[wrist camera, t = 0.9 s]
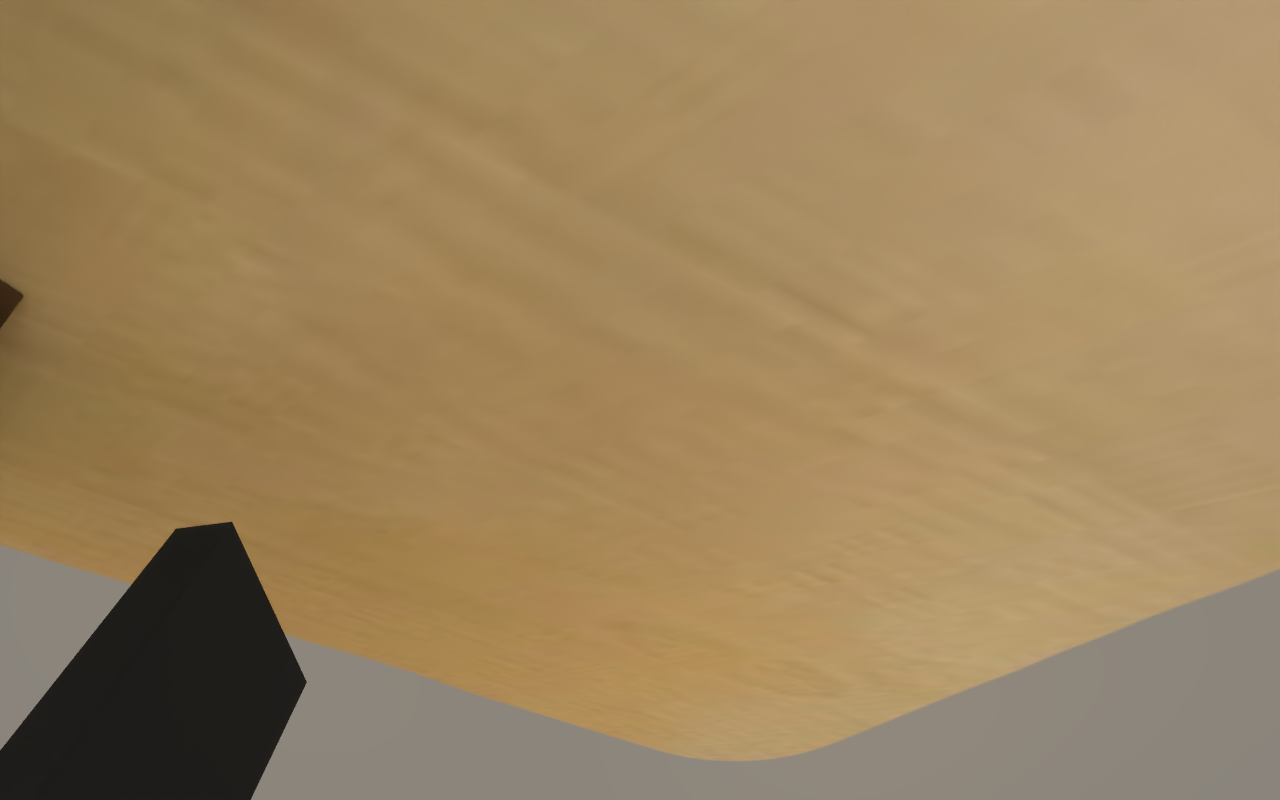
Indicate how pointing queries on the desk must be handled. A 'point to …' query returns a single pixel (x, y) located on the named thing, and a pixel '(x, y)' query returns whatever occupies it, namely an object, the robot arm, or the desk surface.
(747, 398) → the desk surface
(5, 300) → the crate
